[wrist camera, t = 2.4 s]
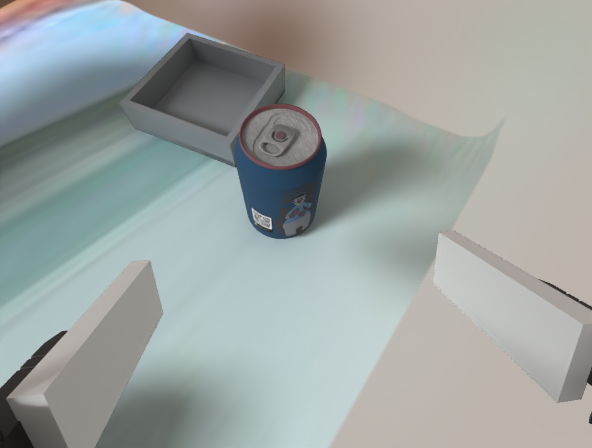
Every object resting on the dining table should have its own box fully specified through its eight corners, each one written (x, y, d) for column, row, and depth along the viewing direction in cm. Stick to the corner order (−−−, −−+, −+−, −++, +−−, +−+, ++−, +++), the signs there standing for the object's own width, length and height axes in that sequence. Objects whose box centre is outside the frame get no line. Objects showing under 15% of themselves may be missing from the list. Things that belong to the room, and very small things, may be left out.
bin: (134, 128, 35) (118, 102, 32) (195, 60, 41) (187, 32, 37) (235, 167, 34) (229, 144, 30) (284, 90, 39) (284, 64, 36)
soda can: (270, 176, 33) (264, 84, 22) (325, 203, 32) (347, 121, 21) (235, 223, 31) (209, 146, 20) (293, 255, 29) (299, 192, 18)
